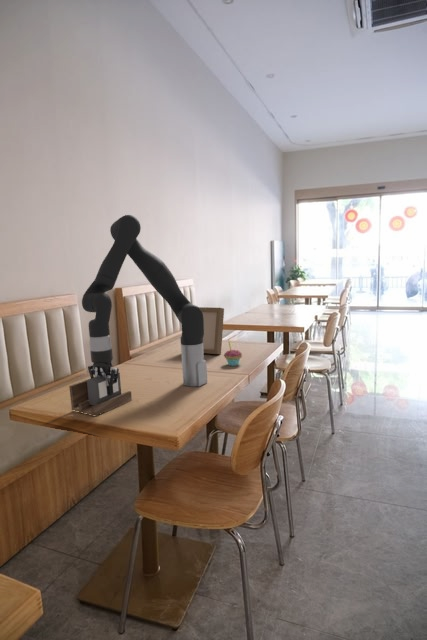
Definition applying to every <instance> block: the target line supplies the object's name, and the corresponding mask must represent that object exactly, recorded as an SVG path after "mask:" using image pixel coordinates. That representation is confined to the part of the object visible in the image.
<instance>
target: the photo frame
mask: <svg viewBox="0 0 427 640" xmlns="http://www.w3.org/2000/svg"><path fill="white" fill-rule="evenodd" d="M198 307H199V306H198ZM199 308H200V309H201V310H202V313H203V318H204V337H203V351H204V354H211V355H221V354H222V345H223V344H222V343H223V329H224V316H225V315H224V314H225V308H223V307H206V306H205V307H202V306H201V307H199Z"/></svg>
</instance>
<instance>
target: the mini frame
mask: <svg viewBox="0 0 427 640" xmlns="http://www.w3.org/2000/svg"><path fill="white" fill-rule="evenodd" d="M120 375H121V374H120V372H118V378H117V383H115V384H113V394H112V395H110V396H108V395H107V385H106V381H105V380H104V378H103V376H99V377H95V376H94V378H92V379H90V378H88V379H89V380H88V379H86V380H87V388H88V397H89V405H93V406H94V405H97V404H99V403H101V402H104V401H106V400H108V399H111V398H113V397H116V396H118V395H120V394H122V385H121V376H120ZM108 376H109V375H108ZM108 376H106V377H108ZM108 381H109V382H110V379H108Z"/></svg>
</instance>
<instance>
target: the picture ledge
mask: <svg viewBox="0 0 427 640" xmlns="http://www.w3.org/2000/svg"><path fill="white" fill-rule="evenodd" d="M89 379H91V377H90V378H88V379H85V380H82V381H79V382H77V383H74V384H73V383H72V384H71V385H69V387H68V388H69V394H70V395H69V396H70V402H71V403H70V405H71V411H72V410H75V411H79V412H83V413H87V414H91V415H98V414H100V413H102V414H104V413H103V412H105V411H107V412H109V411H111V410H114V409H116V408H118V407H120V406H122V404H123V405H125V404H127V403H129V402H131V401H132V400H133V397H132V391H131V390H128V391H125V392H123V393H121V394H120V395H118V396H116V397H113V398H111V399H108V400H106V401H104V402H101V403H99V404H97V405H94V406H93V405H89V397H88V388H87V380H89ZM117 406H118V407H117ZM115 407H116V408H115ZM113 408H114V409H113ZM110 409H111V410H110ZM108 410H109V411H108ZM105 413H106V412H105ZM100 415H101V414H100ZM98 416H99V415H98Z"/></svg>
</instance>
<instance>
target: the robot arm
mask: <svg viewBox="0 0 427 640" xmlns="http://www.w3.org/2000/svg"><path fill="white" fill-rule="evenodd" d="M109 229H110V231H109V232H110V236H111V238H112V239H113V241H114V242H113V244H112V246H111V248H110V249H109V251H108V253H107V254H106V256H105V257H104V259H103V261H102V263H101V264H100V266H99V269H98V271H97V274H96V276H95V278H94V280H93V281H92V282H91V284H90V285H89V287H87V289H86V291H85V292H84V293H83V295H82V298H81V305H82V309H83V310H84V311H85V312H87V313H95V318H93V319H91V320H89V322H88V333H89V334H88V335H89V351H90V362H91V363H93V364H91V365H88V367H87V369H88V373H89V376H90V378H91V379H92V378H94V377H99V376H103V378H104V380H105V381H106V385H107V395H108V396H110V395H112V394H113V384H115V383H117V378H118V372H119V370H120V369H119V368H118V367H114V366H113V364H112V361H113V359H114V357H113V355H114V354H113V346H112V339H111V333H110V320H111V312H112V307H113V306H112V303H113V302H112V299H111V296H110V295H108V293H107V292H109V291H112V290H113V289H114V287H115V284H116V282H117V280H118V277H119V274H120V272H121V270H122V267H123V264H124V262H125V260H126V257H127V255H128V256H129V258H130V259H131V260H132V261H133V263H134V264H135V265H136V266H137V268H138V270H140V272H141V274H143V275H144V277H145V278H146V280H147V281H148V283H150V285H151V286H152V287H153V289H155V290H156V292H157V293H158V294H159V296H161V297H162V298H163V300H164V301H166V303H167V304H168V305H169V307H170V309H171V310H172V311H173V313H174V315H175V317H176V319H177V320H178V322H179V323H180V324H181V337H180V352H181V366H182V367H181V368H182V381H183V382H182V383H183V384H182V385H183V386H187V387H201V386H203V385H204V384H207V383H208V368H207V366H208V365H207V360H206V359H205V355H204V354H205V353H204V351H203V337H204V318H203V313H202V310H201V309H200V308H199V306H197V305H195V304H193V303H192V302H190V300H189V299H188V298H187V297H186V296H185V295H184V293H183V292H182V290H181V288H180V286H179V285H178V282H177V280H176V278H175V276H174V275H173V273H172V271H171V270H170V269H169V268H168V265H166V263H165V262H164V261H163V260H162V259H161V258H160V257H158V256H156V255H155V254H154V253H152V252H150V251H149V250H148V249H146V248H145V247H144V246H143V245H142V244H141V242H140V241H139V240H138V239H137V238H138V236H139V235H140V232H141V229H142V228H141V223H140V221H139V219H138V218H137V217H135V216H134V215H131V214H125V215H122V216H121V217H119V218H118V219H116V220H115V221H114V222H113V223H111V226H110V228H109ZM119 373H120V372H119ZM108 375H109V376H108ZM106 376H108V377H106ZM108 379H110V382H109V381H108Z"/></svg>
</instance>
